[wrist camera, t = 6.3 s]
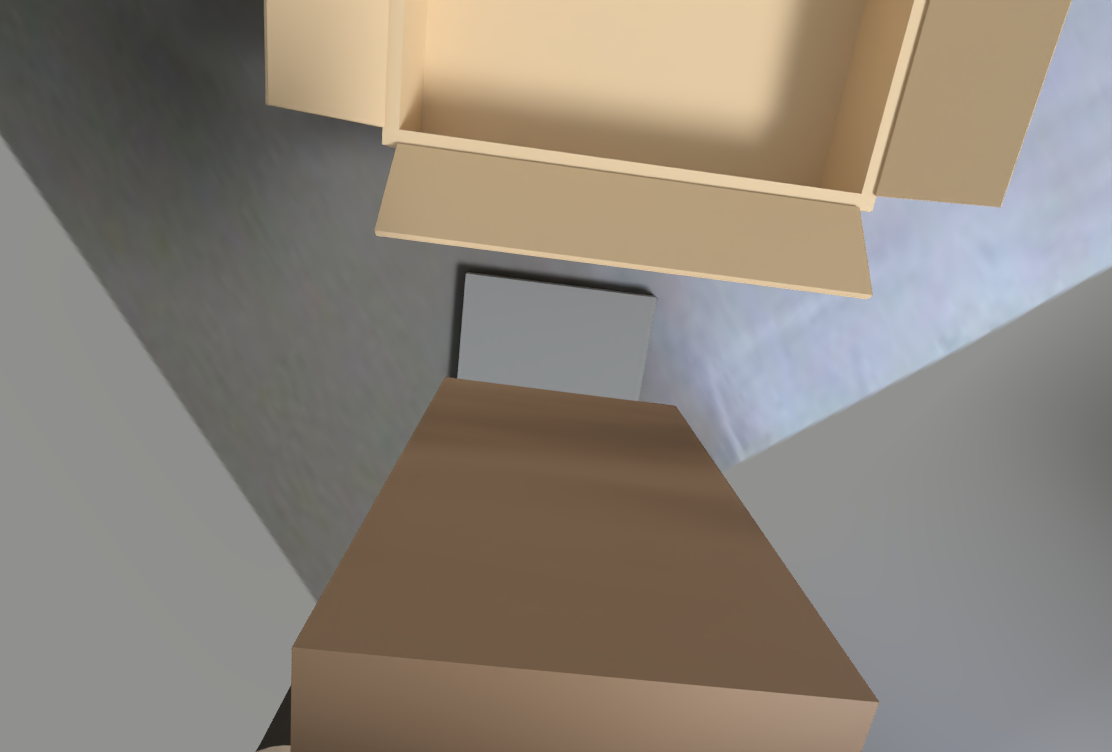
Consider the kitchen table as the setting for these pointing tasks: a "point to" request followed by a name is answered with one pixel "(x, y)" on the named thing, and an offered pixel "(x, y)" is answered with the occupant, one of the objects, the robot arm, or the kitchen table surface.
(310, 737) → the tan rectangular block
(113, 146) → the kitchen table surface
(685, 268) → the carton
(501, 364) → the mat
